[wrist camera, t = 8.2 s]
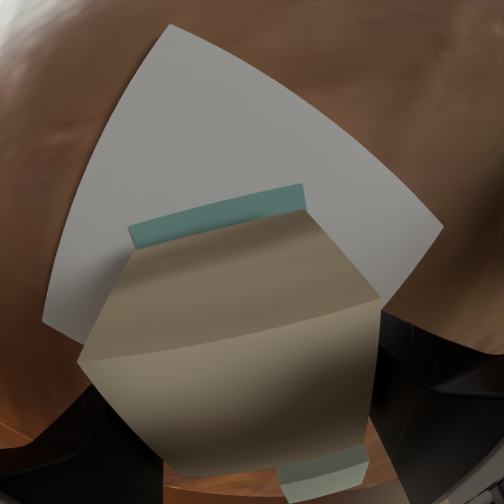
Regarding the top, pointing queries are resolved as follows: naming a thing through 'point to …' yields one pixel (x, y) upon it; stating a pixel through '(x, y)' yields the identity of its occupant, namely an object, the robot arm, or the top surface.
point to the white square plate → (223, 178)
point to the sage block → (323, 474)
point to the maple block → (239, 347)
